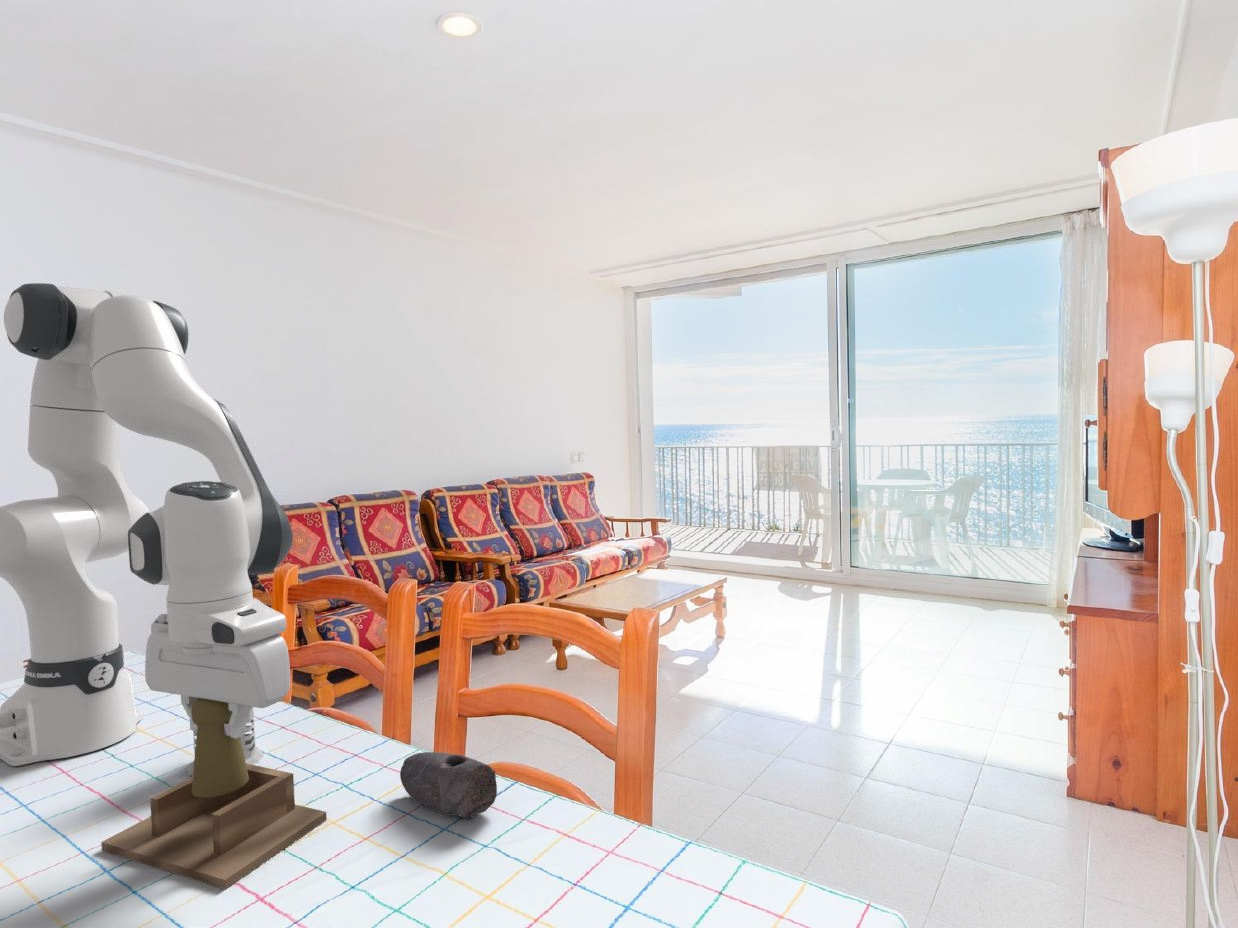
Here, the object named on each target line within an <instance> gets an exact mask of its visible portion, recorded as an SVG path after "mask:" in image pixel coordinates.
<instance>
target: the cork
mask: <svg viewBox="0 0 1238 928" xmlns="http://www.w3.org/2000/svg"><path fill="white" fill-rule="evenodd" d="M232 712H233V711H229V706H228V703H226V702H220V701H214V700H208V699H202V698H198V699H197V700H196V701H195V702H194V704H193V706H192V710H191V714H192V720H193V722H194V723H195V724H196V725H197V726H198V727H197V737H196V738H195V739H196V744H195V747H196V748H195V754H194V760H193V761H194V770H193V776H192V777H193V781H192V794H193V795H194V796H197V797H215V796H220V795H224V794H227V793H230V792H232V791H235V790H237V789H239V788H240V787H242V786H243V785H245V784H246V783H247V782H248V780H249V776H248V771H247V767H246V762H245V757H244V752H243V747H242V743H241V738H240V737H238V738H236V739H235V738H230V737H226V736H225V735H224V732H225V730H224V723H226V722H229V721H230V718H231V715H232Z"/></svg>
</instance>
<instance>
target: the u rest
mask: <svg viewBox="0 0 1238 928" xmlns="http://www.w3.org/2000/svg"><path fill="white" fill-rule="evenodd" d="M246 767H247V771H248V776H249V780H248V782H247V783H246V784H245V785H243V786H242V787H240V788H239V789H237V790H235V791H232V792H230V793H227V794H224V795H220V796H215V797H197V796H194V795H193V794H192V781H193V776H191V777H190V778H187V779H186V780H183V781H182V782H179V783H178V784H175V785H174V786H171V787H169V788H167V789H165V790H163V791H161V792H159V793H157V794H155V795H153V796H151V797H149V800H150V802H149V803H150V816H149V817H147V818H145V819H143V820H141V821H139V822H137V823H135V824H133V825H131V826H130V827H128V828H126V829H123V830H122V831H120V832H118V833H116V834H114V835H112V836H110V837H108V838H107V839H105V840H103V841H101V842H100V843H101V845H100V846H101V851H103V852H105V853H107V854H112V855H115V856H119V857H122V858H124V859H128V860H131V861H134V862H138V863H141V864H144V865H147V866H151V867H153V868H157V869H159V870H163V871H167V872H169V873H173V874H175V875H178V876H183V877H186V878H188V879H192V880H195V881H198V882H201V883H205V884H208V885H211V886H215V887H217V888H221V889H224V890H227V889H228V888H229V887H231V886H232V885H234V884H235V883H237V882H238V881H240V880H241V879H242V878H244V877H246V876H247V875H248V874H250V873H252V872H253V871H254V870H255V869H257V868H258V867H259V868H260V866H262V865H263V864H264V863H266V862H267V861H269V860H270V859H271V858H273V857H274V856H276V855H277V854H279V853H280V852H282V851H283V850H285V849H286V848H288V847H289V846H291V845H292V844H294V843H296V842H297V841H298V840H299V839H301V838H302V837H303V836H305V835H307V834H308V833H309V832H311V831H313V830H314V829H316V828H317V827H318V826H320V825H321V824H323V823H325V821H327V811H324V810H321V809H315V808H311V807H307V806H303V805H299V804H296V803H295V784H294V783H295V781H294V779H295V778H294V773H292V772H286V771H282V770H279V769H275V768H273V769H272V768H269V767H264V766H260V765H255V764H254V765H251V764H246Z"/></svg>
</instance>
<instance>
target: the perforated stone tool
mask: <svg viewBox="0 0 1238 928" xmlns="http://www.w3.org/2000/svg"><path fill="white" fill-rule="evenodd" d="M399 772H400V774H399V778H400V781H401V784H402V786H403V789H404V790H405V791H406V793H407V794H408V795H409V796H410V797H411V798H412V799H413V800H414V801H416V802H417V803H420V804H421V805H424V806H425V805H426V807H427V808H430V809H432V810H434V811H436V812H437V813H438V812H439V813H441V814H443V815H446V816H453V815H454V816H460V817H461V819H464V820H467V819H472V818H473V817H475V815H478V814H479V815H480V814H482V813H484V812H487V810H488V809H489V808H490V807H491V806H493V804H494V803H495V801H496V798H497V794H498V791H497V790H498V788H497V787H498V785H497V779H496V771H495V770H494V768H492V766H490V765H488V764H486V763H484V762H482V761H478V760H476V759H474V758H471V757H468V756H465V755H462V754H454V753H447V752H437V751H430V752H429V751H425V752H417V753H414V754H411V755H410V756H408V757H406V758H405V759H404V761H403V763H402V766H401V768H400V771H399Z"/></svg>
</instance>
